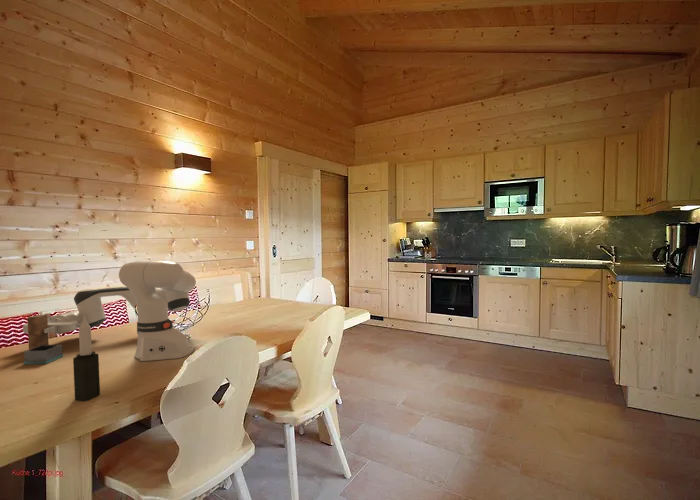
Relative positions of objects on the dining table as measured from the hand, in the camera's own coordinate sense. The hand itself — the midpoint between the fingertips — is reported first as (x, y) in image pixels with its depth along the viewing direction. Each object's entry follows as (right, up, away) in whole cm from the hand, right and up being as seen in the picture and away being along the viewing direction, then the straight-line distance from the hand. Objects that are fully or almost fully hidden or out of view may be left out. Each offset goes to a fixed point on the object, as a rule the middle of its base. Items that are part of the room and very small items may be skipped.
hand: (36, 331), depth 149 cm
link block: (0, -8, +1) cm, 8 cm away
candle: (+52, -11, -41) cm, 67 cm away
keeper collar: (+10, -10, -7) cm, 16 cm away
